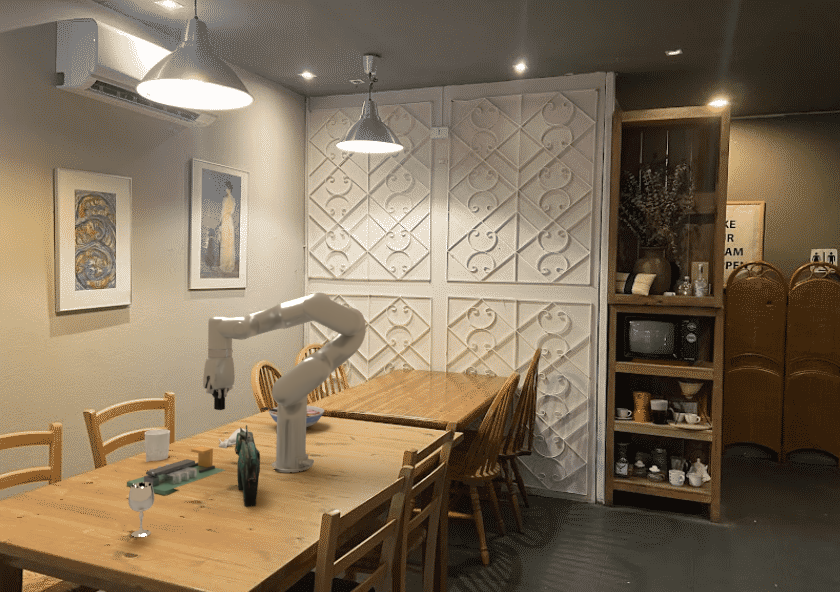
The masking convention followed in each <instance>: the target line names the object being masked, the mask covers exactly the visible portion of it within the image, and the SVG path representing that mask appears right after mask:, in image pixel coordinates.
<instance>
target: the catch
mask: <svg viewBox="0 0 840 592" xmlns="http://www.w3.org/2000/svg"><path fill="white" fill-rule="evenodd" d="M190 450H191V451H190V452H191V453H196V454H198V457H197V459H198V460H197V462H198V466H203V467H210V466H213V462H214V461H213V457H214V456H213V455H214V453H213V451H214V448H212V447H208V446H207V447H206V446H197V447H194V448H191V449H190Z"/></svg>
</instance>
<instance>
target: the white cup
mask: <svg viewBox="0 0 840 592" xmlns="http://www.w3.org/2000/svg"><path fill="white" fill-rule="evenodd" d="M170 434H171V430H169V429H164V428H160V429H157V428H156V429H151V430H147V431H144V448H145V450H144V451H145V463H148V462H151V461H153V462H156V461H157V462H159V461H164V460H166V459H168V457H169V452H170V439H171V437H170V436H171V435H170Z"/></svg>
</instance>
